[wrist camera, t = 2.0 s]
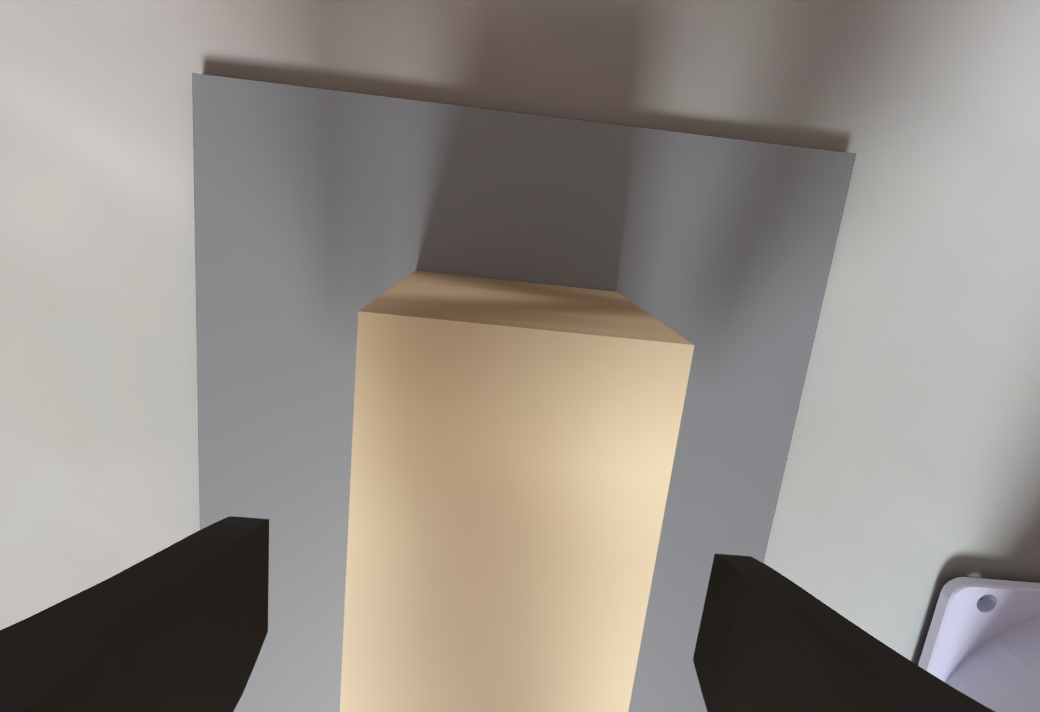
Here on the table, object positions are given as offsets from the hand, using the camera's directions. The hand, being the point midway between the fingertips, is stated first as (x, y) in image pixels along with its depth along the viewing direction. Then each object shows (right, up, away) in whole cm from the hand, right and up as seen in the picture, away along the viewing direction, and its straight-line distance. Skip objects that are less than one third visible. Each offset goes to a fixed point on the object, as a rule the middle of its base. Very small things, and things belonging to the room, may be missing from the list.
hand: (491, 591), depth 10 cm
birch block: (0, +1, +5) cm, 5 cm away
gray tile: (0, +1, +5) cm, 5 cm away
